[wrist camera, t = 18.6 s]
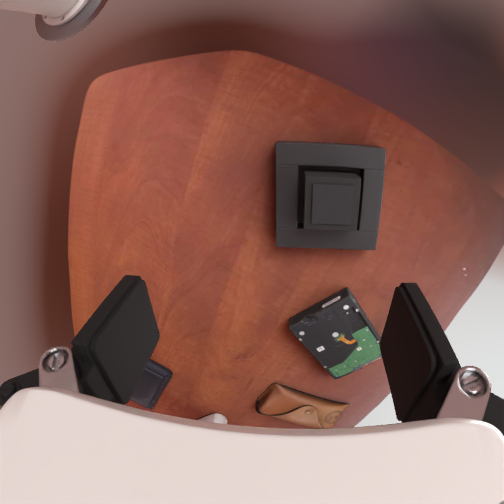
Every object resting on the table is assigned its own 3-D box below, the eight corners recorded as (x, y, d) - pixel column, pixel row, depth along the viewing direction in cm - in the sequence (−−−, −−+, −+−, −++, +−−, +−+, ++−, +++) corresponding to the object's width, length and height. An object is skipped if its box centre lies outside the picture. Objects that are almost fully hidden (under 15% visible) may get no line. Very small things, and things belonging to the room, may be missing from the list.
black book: (149, 413, 61) (96, 383, 59) (152, 408, 62) (99, 378, 61) (173, 379, 52) (106, 340, 50) (176, 372, 54) (110, 334, 52)
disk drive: (287, 317, 44) (334, 369, 47) (286, 328, 41) (335, 381, 45) (346, 283, 40) (386, 344, 44) (349, 294, 37) (390, 355, 41)
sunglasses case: (352, 404, 51) (344, 434, 47) (335, 405, 57) (327, 432, 53) (272, 381, 50) (261, 414, 46) (261, 383, 56) (252, 413, 52)
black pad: (303, 169, 33) (305, 176, 29) (354, 171, 32) (361, 179, 28) (302, 217, 36) (303, 230, 32) (350, 219, 35) (356, 232, 31)
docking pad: (276, 141, 33) (275, 142, 30) (379, 146, 31) (386, 149, 29) (277, 238, 38) (275, 246, 36) (370, 241, 36) (375, 250, 34)
